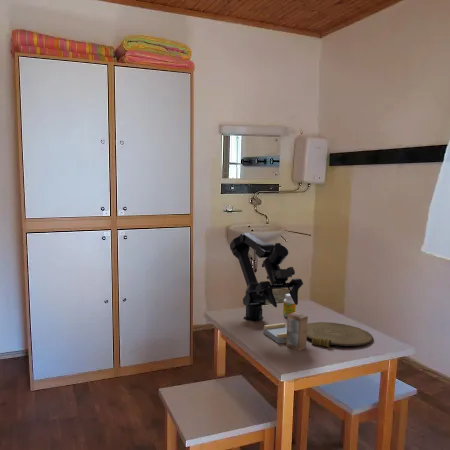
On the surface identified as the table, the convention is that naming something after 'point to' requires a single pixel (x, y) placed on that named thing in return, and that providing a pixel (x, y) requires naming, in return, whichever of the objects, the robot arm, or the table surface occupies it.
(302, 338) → the wooden box
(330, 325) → the decorative disc
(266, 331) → the rail board
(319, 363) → the table surface
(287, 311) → the supplement bottle
